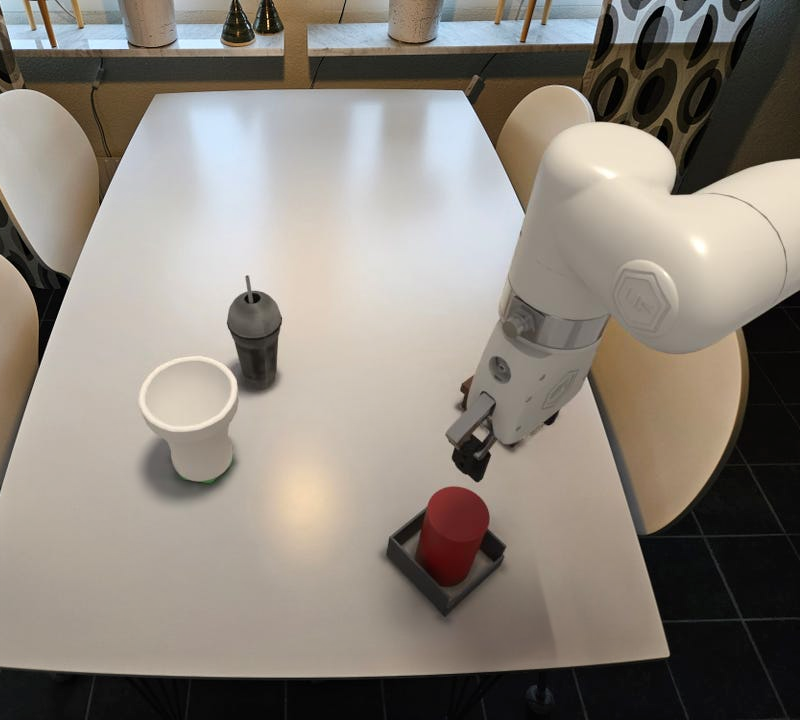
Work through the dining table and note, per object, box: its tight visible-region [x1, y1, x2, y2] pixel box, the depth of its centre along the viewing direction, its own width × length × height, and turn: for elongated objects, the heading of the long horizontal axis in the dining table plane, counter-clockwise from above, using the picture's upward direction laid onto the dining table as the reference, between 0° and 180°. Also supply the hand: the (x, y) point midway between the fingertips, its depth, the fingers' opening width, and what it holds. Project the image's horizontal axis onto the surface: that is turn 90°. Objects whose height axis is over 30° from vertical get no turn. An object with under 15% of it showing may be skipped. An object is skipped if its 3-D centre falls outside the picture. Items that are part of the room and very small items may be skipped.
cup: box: [138, 355, 240, 485], centre depth 78 cm, size 11×11×14 cm
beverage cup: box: [226, 274, 283, 390], centre depth 86 cm, size 7×7×20 cm
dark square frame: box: [385, 506, 508, 618], centre depth 73 cm, size 9×9×4 cm
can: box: [414, 485, 491, 588], centre depth 71 cm, size 6×6×11 cm
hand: (503, 441), depth 59 cm, fingers open, 9 cm apart
